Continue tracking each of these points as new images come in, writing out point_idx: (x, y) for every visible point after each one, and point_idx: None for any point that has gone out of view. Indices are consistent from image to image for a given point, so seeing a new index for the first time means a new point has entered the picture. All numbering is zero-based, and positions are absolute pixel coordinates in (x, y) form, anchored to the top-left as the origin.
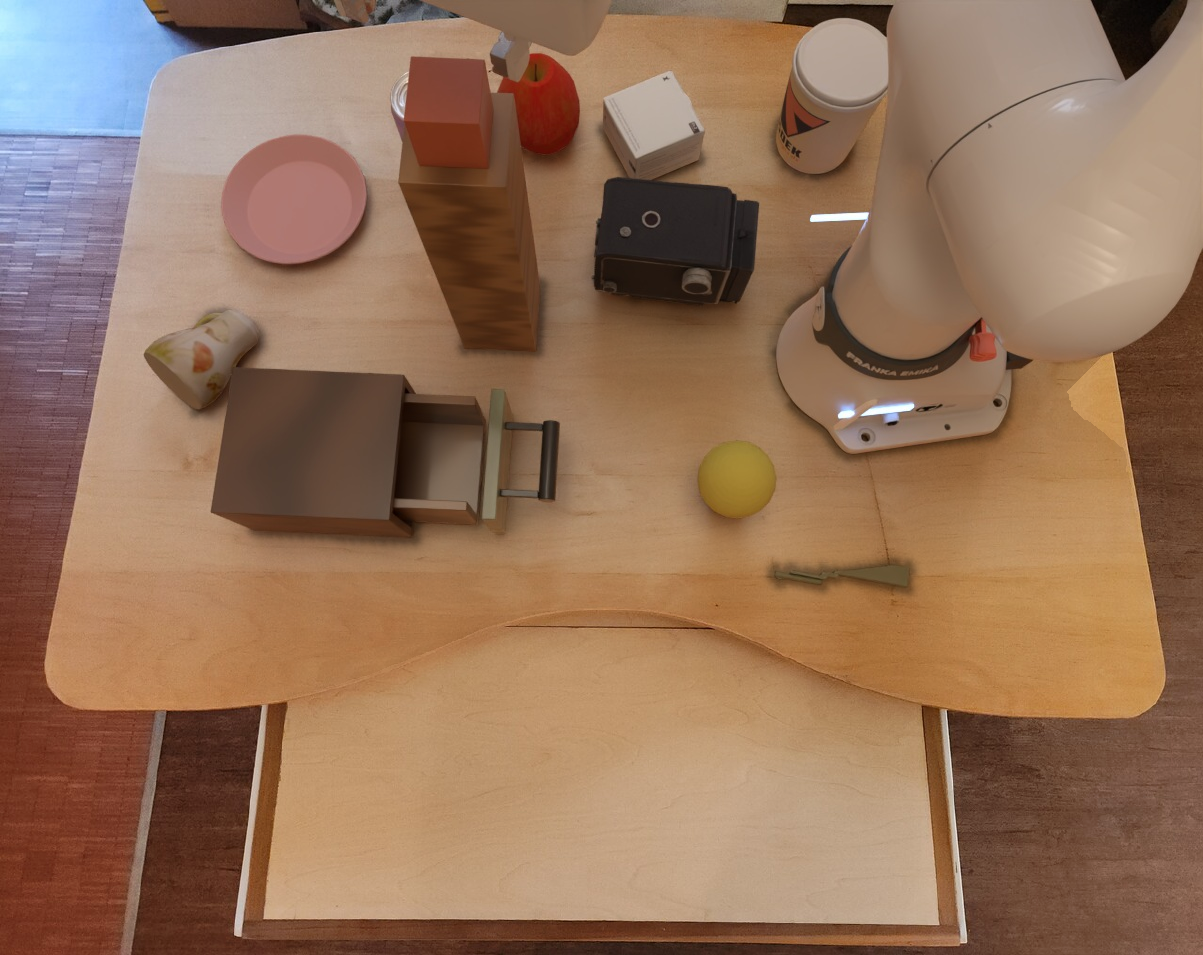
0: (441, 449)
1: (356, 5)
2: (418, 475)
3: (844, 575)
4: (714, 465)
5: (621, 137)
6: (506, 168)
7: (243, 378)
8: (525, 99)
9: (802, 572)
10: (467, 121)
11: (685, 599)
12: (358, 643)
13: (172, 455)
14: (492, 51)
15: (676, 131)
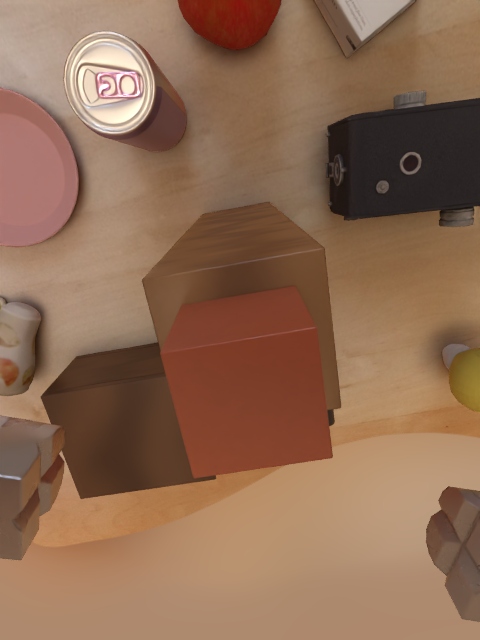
0: None
1: (27, 547)
2: None
3: None
4: (475, 391)
5: (339, 9)
6: (336, 380)
7: (54, 404)
8: (224, 4)
9: None
10: (310, 458)
11: (423, 427)
12: (204, 493)
13: (22, 409)
14: (471, 616)
15: None
